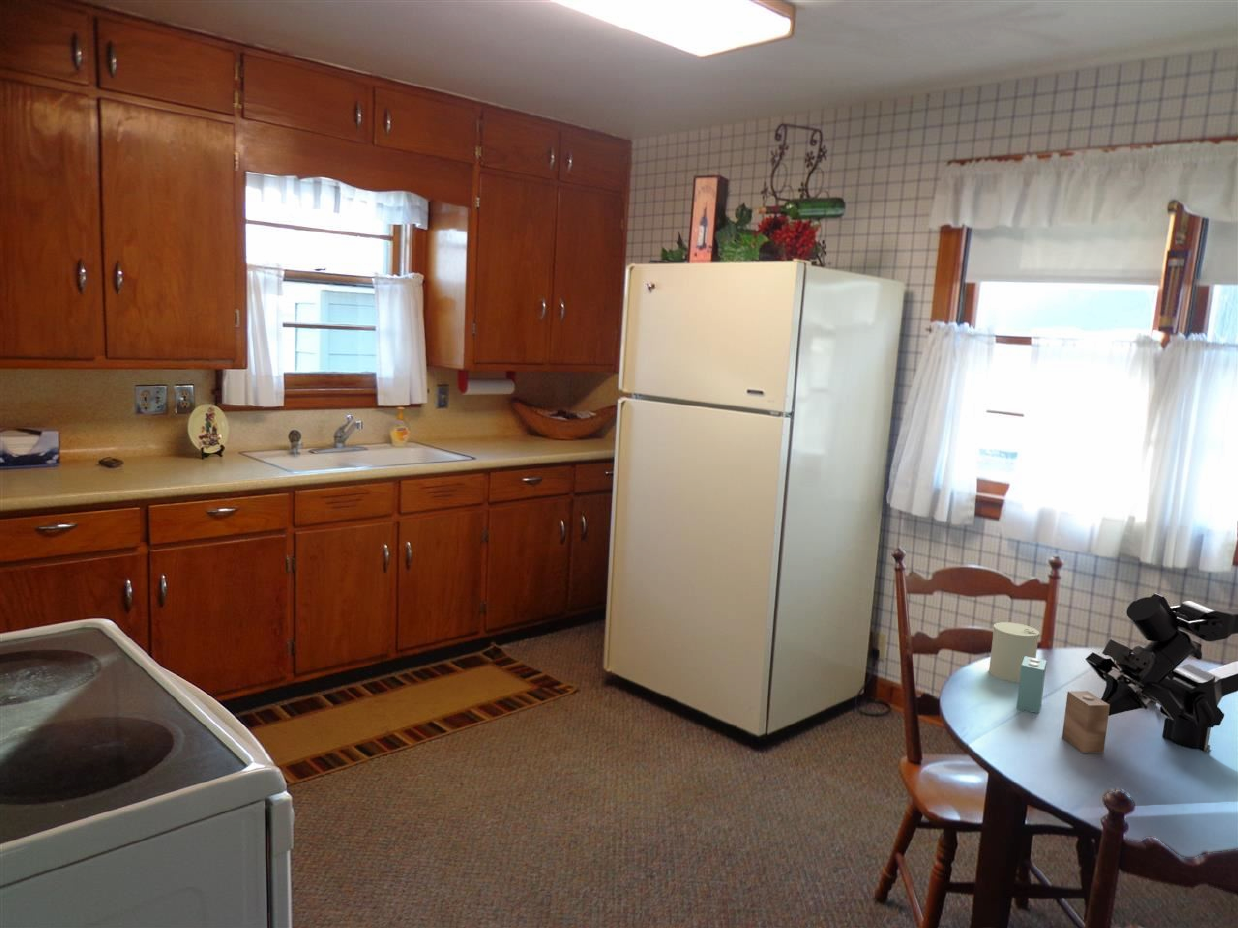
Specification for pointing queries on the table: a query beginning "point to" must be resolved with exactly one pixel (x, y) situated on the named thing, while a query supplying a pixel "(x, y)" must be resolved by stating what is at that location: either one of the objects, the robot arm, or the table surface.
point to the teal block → (1031, 684)
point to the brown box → (1085, 721)
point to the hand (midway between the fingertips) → (1097, 715)
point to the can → (1011, 649)
